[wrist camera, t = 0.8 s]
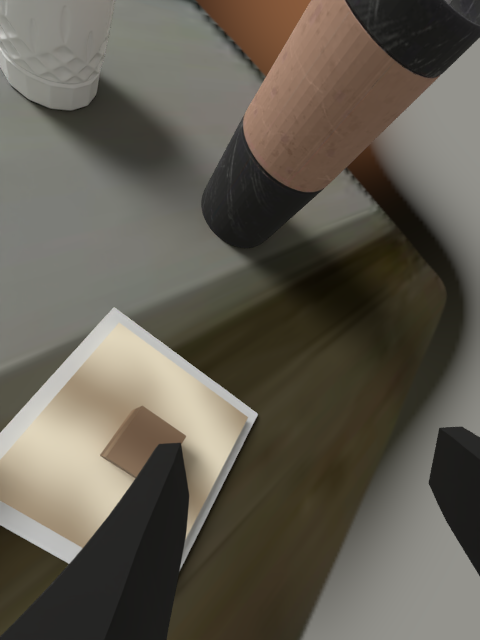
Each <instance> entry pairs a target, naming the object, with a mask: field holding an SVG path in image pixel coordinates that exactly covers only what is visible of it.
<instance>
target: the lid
mask: <svg viewBox="0 0 480 640" xmlns="http://www.w3.org/2000/svg"><path fill="white" fill-rule="evenodd" d="M247 419H248V417H247V416H246V415H244V414H243V413H242V412H240V411H239V410H238V409H236V408H235V407H234V406H232V405H231V404H229V403H228V402H227V401H225V400H224V399H223V398H221V397H220V396H219V395H217V394H216V393H215V392H213V391H212V390H210V389H209V388H208V387H206V386H205V385H204V384H202V383H201V382H200V381H198V380H197V379H195V378H194V377H193V376H191V375H190V374H189V373H187V372H186V371H185V370H183V369H182V368H180V367H179V366H178V365H176V364H175V363H174V362H172V361H171V360H170V359H168V358H167V357H166V356H164V355H163V354H161V353H160V352H159V351H157V350H156V349H155V348H153V347H152V346H151V345H149V344H148V343H146V342H145V341H144V340H142V339H141V338H140V337H138V336H137V335H136V334H134V333H133V332H131V331H130V330H129V329H127V328H126V327H125V326H123V325H122V324H121V323H118V324H117V325H116V327H115V328H114V329H113V330H112V331H111V332H110V334H109V335H108V336H107V337H106V338H105V339H104V340H103V342H102V343H101V344H100V345H99V346H98V347H97V349H96V350H95V351H94V352H93V353H92V354H91V355H90V357H89V358H88V359H87V360H86V361H85V362H84V364H83V365H82V366H81V367H80V368H79V369H78V371H77V372H76V373H75V374H74V375H73V376H72V377H71V379H70V380H69V381H68V382H67V383H66V384H65V386H64V387H63V388H62V389H61V390H60V391H59V392H58V394H57V395H56V396H55V397H54V398H53V399H52V401H51V402H50V403H49V404H48V405H47V406H46V407H45V409H44V410H43V411H42V412H41V413H40V414H39V416H38V417H37V418H36V419H35V420H34V421H33V423H32V424H31V425H30V426H29V427H28V428H27V429H26V431H25V432H24V433H23V434H22V435H21V436H20V438H19V439H18V440H17V441H16V442H15V443H14V444H13V446H12V447H11V448H10V449H9V450H8V451H7V453H6V454H5V455H4V456H3V457H2V458H1V459H0V501H2V502H3V503H5V504H7V505H9V506H10V507H12V508H14V509H16V510H17V511H19V512H21V513H23V514H24V515H26V516H28V517H30V518H31V519H33V520H35V521H37V522H38V523H40V524H42V525H43V526H45V527H47V528H49V529H50V530H52V531H54V532H56V533H57V534H59V535H61V536H63V537H64V538H66V539H68V540H70V541H71V542H73V543H75V544H77V545H78V546H80V547H82V548H83V547H84V546H85V545H86V543H87V542H88V541H89V540H90V538H91V537H92V536H93V535H94V533H95V532H96V531H97V530H98V528H99V527H100V526H101V525H102V523H103V522H104V521H105V520H106V518H107V517H108V516H109V514H110V513H111V512H112V510H113V509H114V508H115V506H116V505H117V504H118V502H119V501H120V499H121V498H122V497H123V495H124V494H125V493H126V491H127V490H128V488H129V487H130V486H131V484H132V483H133V481H134V480H135V478H136V477H137V475H138V474H139V472H140V471H141V469H142V468H143V466H144V465H145V463H146V462H147V460H148V459H149V457H150V456H151V454H152V453H153V451H154V450H155V448H156V447H157V446H158V445H159V444H165V443H181V447H182V453H183V459H184V465H185V471H186V478H187V484H188V490H189V508H188V520H187V531H186V538H187V536H188V534H189V532H190V530H191V528H192V526H193V524H194V522H195V520H196V518H197V516H198V514H199V512H200V510H201V508H202V506H203V504H204V502H205V500H206V499H207V497H208V495H209V493H210V491H211V489H212V487H213V485H214V483H215V481H216V479H217V477H218V475H219V473H220V471H221V469H222V467H223V465H224V463H225V462H226V460H227V458H228V456H229V454H230V452H231V450H232V448H233V446H234V444H235V442H236V440H237V438H238V436H239V434H240V432H241V430H242V428H243V426H244V424H245V423H246V421H247ZM186 538H185V539H186Z"/></svg>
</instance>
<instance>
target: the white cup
mask: <svg viewBox="0 0 480 640" xmlns="http://www.w3.org/2000/svg"><path fill="white" fill-rule="evenodd" d="M114 5H115V0H0V68H1V69H2V71H3V73H4V75H5V76H6V78H7V80H8V82H9V83H10V85H11V86H13V87H14V88H15V89H16V90H18V91H19V92H20V93H21V94H22V95H24V96H25V97H26V98H27V99H29V100H31V101H33V102H36V103H38V104H41V105H43V106H46V107H48V108H51V109H60V110H70V111H72V110H75V109H78V108H82V107H85V106H88V105H89V103H90V102H91V101H92V99H93V98H94V97H95V96H96V94H97V88H98V82H99V76H100V69H101V67H102V64H103V61H104V57H105V52H106V46H107V41H108V38H109V33H110V28H111V22H112V16H113V11H114Z"/></svg>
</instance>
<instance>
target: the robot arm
mask: <svg viewBox="0 0 480 640" xmlns="http://www.w3.org/2000/svg"><path fill="white" fill-rule="evenodd" d="M429 485H430V487H431V489H432V491H433V493H434V496H435V498H436V501H437V503H438V505H439V507H440V509H441V511H442V513H443V515H444V517H445V519H446V521H447V523H448V524H449V526H450V528H451V530H452V531H453V533H454V535H455V536H456V538H457V540H458V541H459V543H460V545H461V546H462V547H463V550H464V551H465V553H466V554H467V556H468V557H469V559H470V561H471V563H472V564H473V566H474V567H475V569H476V571H477V572H478V574H479V576H480V437H478V436H476V435H475V434H473V433H472V432H470V431H468V430H466V429H465V428H463V427H446V428H439V433H438V438H437V443H436V448H435V454H434V459H433V463H432V468H431V474H430V479H429ZM188 508H189V490H188V484H187V478H186V471H185V465H184V459H183V453H182V447H181V443H165V444H159V445H158V446H157V447H156V448H155V450H154V451H153V453H152V454H151V456H150V457H149V459H148V460H147V462H146V463H145V465H144V466H143V468H142V469H141V471H140V472H139V474H138V475H137V477H136V478H135V480H134V481H133V483H132V484H131V486H130V487H129V488H128V490H127V491H126V493H125V494H124V495H123V497H122V498H121V499H120V501H119V502H118V504H117V505H116V506H115V508H114V509H113V510H112V512H111V513H110V514H109V516H108V517H107V518H106V520H105V521H104V522H103V523H102V525H101V526H100V527H99V528H98V530H97V531H96V532H95V533H94V535H93V536H92V537H91V538H90V540H89V541H88V542H87V543H86V545H85V546H84V547H83V548H82V550H81V551H80V552H79V553H78V554H77V555H76V557H75V558H74V559H73V560H72V561H71V562H70V564H69V565H68V566H67V567H66V568H65V569H64V570H63V572H62V573H61V574H60V575H59V576H58V577H57V578H56V579H55V580H54V581H53V583H52V584H51V585H50V586H49V587H48V588H47V589H46V590H45V591H44V592H43V593H42V595H41V596H40V597H39V598H38V599H37V600H36V601H35V602H34V603H33V604H32V605H31V606H30V607H29V608H28V609H27V610H26V611H25V612H24V613H23V614H22V615H21V616H20V617H19V618H18V619H17V620H16V621H15V622H14V623H13V624H12V625H11V626H10V627H9V628H8V629H7V630H6V631H5V632H4V633H3V634H2V635H1V636H0V640H166V639H167V633H168V627H169V622H170V617H171V612H172V607H173V601H174V596H175V591H176V586H177V581H178V575H179V570H180V565H181V560H182V554H183V549H184V544H185V538H186V531H187V520H188Z"/></svg>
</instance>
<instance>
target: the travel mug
mask: <svg viewBox="0 0 480 640" xmlns="http://www.w3.org/2000/svg"><path fill="white" fill-rule="evenodd" d="M478 38H480V0H311V2H310V3H309V5H308V7H307V9H306V10H305V12H304V14H303V15H302V17H301V19H300V21H299V22H298V24H297V26H296V27H295V29H294V31H293V32H292V34H291V36H290V37H289V39H288V41H287V43H286V44H285V46H284V48H283V49H282V51H281V53H280V54H279V56H278V58H277V60H276V61H275V63H274V65H273V66H272V68H271V70H270V71H269V73H268V75H267V77H266V78H265V80H264V82H263V83H262V85H261V87H260V88H259V90H258V92H257V94H256V95H255V97H254V99H253V100H252V102H251V104H250V105H249V107H248V109H247V111H246V113H245V114H244V116H243V118H242V120H241V122H240V124H239V125H238V127H237V129H236V131H235V133H234V135H233V137H232V139H231V141H230V142H229V144H228V146H227V148H226V150H225V152H224V154H223V156H222V158H221V159H220V161H219V163H218V165H217V167H216V169H215V171H214V173H213V175H212V177H211V178H210V180H209V182H208V184H207V186H206V188H205V190H204V193H203V196H202V211H203V215H204V218H205V220H206V222H207V224H208V225H209V227H210V228H211V229H212V230H213V232H214V233H215V234H216V235H217V236H219V237H220V238H221V239H222V240H224V241H225V242H227V243H229V244H231V245H234V246H237V247H243V248H250V247H254V246H257V245H259V244H261V243H263V242H264V241H265V240H266V239H268V238H269V237H270V236H271V235H272V234H273V233H275V232H276V231H277V230H278V229H279V228H280V227H281V226H282V225H284V224H285V223H286V222H287V221H288V220H289V219H290V218H291V217H293V216H294V215H295V214H296V213H297V212H298V211H299V210H300V209H302V208H303V207H304V206H305V205H306V204H307V203H308V202H309V201H311V200H312V199H313V198H314V197H315V196H316V195H317V194H318V193H320V192H321V191H322V190H323V189H324V188H325V187H326V186H327V185H328V184H329V183H330V182H331V181H332V180H333V179H335V178H336V177H337V176H338V175H339V174H340V173H341V172H342V171H343V170H344V169H345V168H346V167H347V166H348V165H349V164H350V163H351V162H352V161H353V160H354V159H355V158H356V157H357V156H358V155H359V154H360V153H361V152H362V151H363V150H364V149H365V148H366V147H367V146H368V145H369V144H370V143H372V141H374V140H375V138H377V137H378V136H379V135H380V134H381V133H382V132H383V131H384V130H385V129H386V128H387V127H388V126H389V125H390V124H391V123H392V122H393V121H394V120H395V119H396V118H397V117H398V116H399V115H400V114H401V113H402V112H403V111H404V110H405V109H406V108H407V107H409V106H410V105H411V104H412V103H413V102H414V101H415V100H416V99H417V98H418V97H419V96H420V95H421V94H422V93H423V92H424V91H425V90H426V89H427V88H428V87H429V86H430V85H431V84H432V83H433V82H434V81H435V80H436V79H437V78H438V77H439V76H440V75H441V74H442V73H443V72H444V71H446V70H447V68H448V67H450V66H451V65H452V64H453V63H454V62H455V61H456V60H457V59H458V58H459V57H460V56H461V55H462V54H463V53H464V52H465V51H466V50H467V49H468V48H469V47H470V46H471V45H472V44H473V43H474V42H475V41H476V40H477V39H478Z"/></svg>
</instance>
